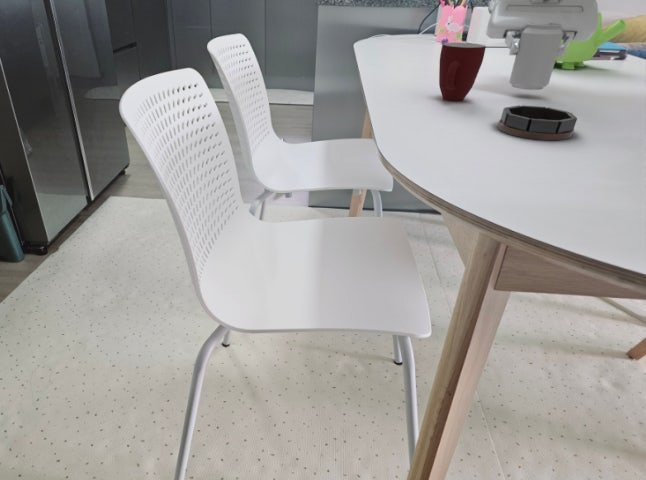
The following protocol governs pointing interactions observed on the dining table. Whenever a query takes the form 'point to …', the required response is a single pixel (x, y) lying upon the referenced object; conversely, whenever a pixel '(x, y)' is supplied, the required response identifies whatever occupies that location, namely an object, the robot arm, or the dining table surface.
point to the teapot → (589, 44)
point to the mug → (459, 69)
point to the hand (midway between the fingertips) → (537, 54)
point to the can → (536, 56)
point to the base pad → (537, 122)
